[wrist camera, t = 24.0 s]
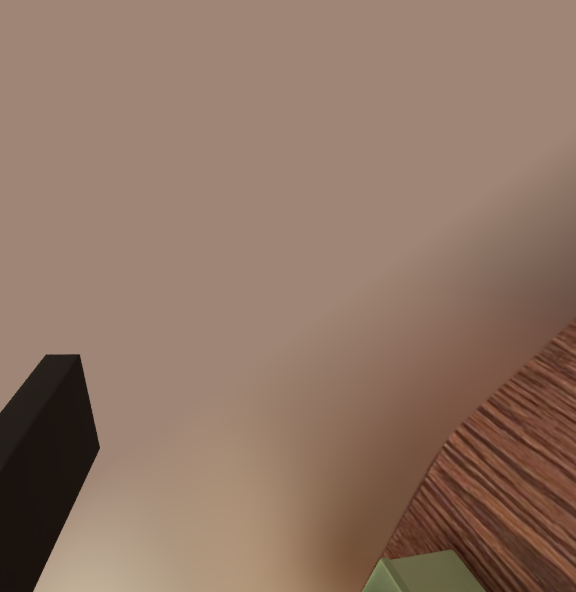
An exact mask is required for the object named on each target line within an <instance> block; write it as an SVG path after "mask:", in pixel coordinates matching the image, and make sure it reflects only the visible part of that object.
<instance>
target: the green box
mask: <svg viewBox="0 0 576 592" xmlns="http://www.w3.org/2000/svg"><path fill="white" fill-rule="evenodd" d="M362 592H486V591H485V590H484V588H483V587H482V586H481V585H480V583H479V582H478V581H477V580H476V578H475V577H474V576H473V575H472V573H471V572H470V571H469V570H468V568H467V567H466V566H465V564H464V563H463V562H462V561H461V559H460V558H459V557H458V556H457V554H456V553H455V552H454V551H453V550H452V549H451V550H445V551H439V552H433V553H428V554H422V555H416V556H410V557H405V558H399V559H393V560H389V559H388V558H382V559H380V560H379V562H378V564H377V566H376V568H375V569H374V571H373V573H372V575H371V577H370V578H369V580H368V582H367V584H366V586H365V587H364V589H363V591H362Z"/></svg>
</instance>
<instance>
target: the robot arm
mask: <svg viewBox="0 0 576 592" xmlns="http://www.w3.org/2000/svg"><path fill="white" fill-rule="evenodd" d="M99 449H100V446H99V441H98V437H97V432H96V427H95V423H94V418H93V414H92V409H91V404H90V400H89V395H88V391H87V386H86V381H85V377H84V372H83V367H82V363H81V358H80V355H79V354H77V355H76V354H71V355H70V354H69V355H45V357H44V358H43V359H42V360H41V362H40V363H39V364H38V365H37V367H36V368H35V369H34V371H33V372H32V373H31V374H30V376H29V377H28V378H27V380H26V381H25V382H24V383H23V385H22V386H21V387H20V389H19V390H18V391H17V392H16V393H15V395H14V396H13V397H12V399H11V400H10V401H9V403H8V404H7V405H6V407H5V408H4V409H3V410H2V411H1V413H0V592H33V590H34V588H35V586H36V584H37V582H38V580H39V577H40V575H41V573H42V571H43V569H44V567H45V565H46V562H47V561H48V558H49V556H50V554H51V552H52V550H53V548H54V545H55V543H56V541H57V539H58V537H59V535H60V533H61V530H62V528H63V526H64V524H65V522H66V520H67V518H68V516H69V513H70V511H71V509H72V507H73V505H74V502H75V501H76V498H77V496H78V494H79V492H80V490H81V487H82V486H83V483H84V481H85V479H86V477H87V475H88V473H89V471H90V468H91V466H92V464H93V462H94V460H95V458H96V456H97V453H98V451H99Z"/></svg>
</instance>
